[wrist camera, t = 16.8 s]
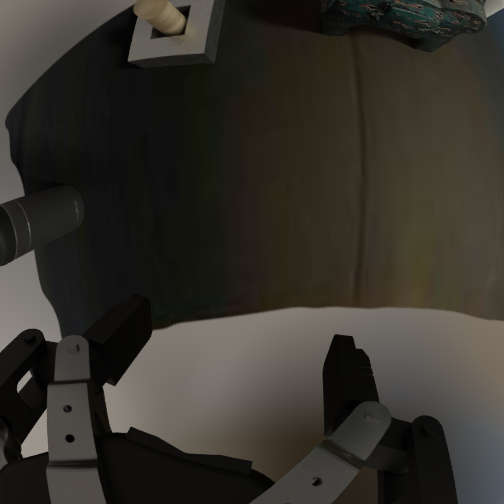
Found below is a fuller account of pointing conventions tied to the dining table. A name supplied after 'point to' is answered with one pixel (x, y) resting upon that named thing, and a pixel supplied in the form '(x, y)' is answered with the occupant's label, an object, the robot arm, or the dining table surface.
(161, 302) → the dining table surface
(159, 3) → the wooden peg
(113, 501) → the robot arm
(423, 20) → the ceramic cat
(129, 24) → the dining table surface
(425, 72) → the dining table surface
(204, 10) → the socket block
